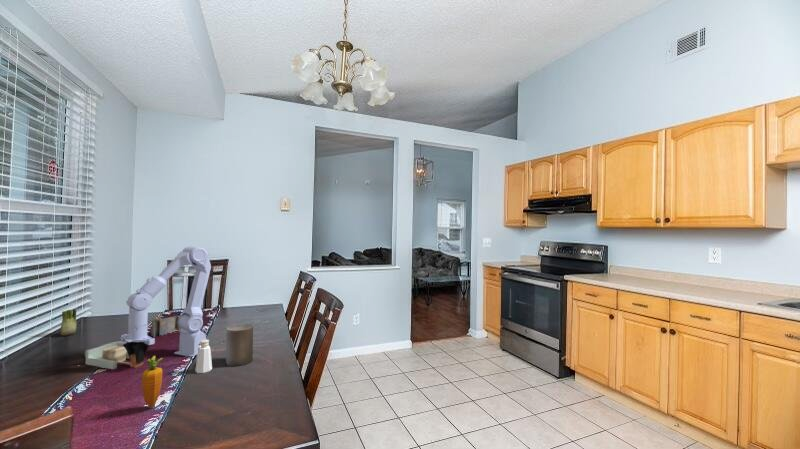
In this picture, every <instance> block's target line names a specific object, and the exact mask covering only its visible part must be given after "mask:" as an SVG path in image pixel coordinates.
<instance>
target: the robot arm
mask: <svg viewBox="0 0 800 449" xmlns="http://www.w3.org/2000/svg"><path fill="white" fill-rule="evenodd" d="M209 255H210V253H209V252H207V250H206V249H205V248H204V247H200V246H199V247H195V246H191V245H190V246H186V247H184V248H183V249H182V251H180V252H178V253H177V255H176V256H175V257H174V259H172V261H171V262H170V263H169V264H168V265H167V266H166V267H164V269H163V270H162V271H161V272H160V273H159V274H158V275H156V276H152V277H151V278H150V277H149V278H147V279H146V280H145V281H146V282H145V283H144V284H143V285H142V286H141V287H140V288H138V289H136V290H135V293H131V294H130V295H129V296H128V298H127V300H126V305H127V306H128V323H127V324H128V325H127V333H125V334H122V335H120V341H121V342H125V344H123V346H124V347H125V349H126V350H127V353H128V355H129V359H128V360H130V356H131V355H132V354H136V362H137V363H140V362H143V363H144V361H145V356H146V354H147V351H148V350H149V348H150V346H151V345H154V344H155V343H156V340H155V339H156V338H155V337H152V336H149V334H148V322H149V321H148V319H149V318H148V317H149V312H148V310H149V308H148V307H150V305H151V304H152V300H153V299H154V298H155V297H156V296H157V295H158V294H159V293H160V292H161V291H162V290H163V289H164V288H165V287H166V286H167V280H169V279H170V278H171V277H173V275H174V274H175V273H177V272H178V271H179V270H180V269H181V268H182V267H184V266H188V265H192V267H193V268H194V269H195V271H194V272H195V273H194V277H193V281H192V284H191V288H190V291H189V292H190V293H189V296H188V299H187V300H188V301H187V305H186V306H185V308H184V309H183V310H182V313H181V315H179V316H180V317H179V319H178V325H179V326H180V331H179V350H178V351H175V352H174V353H173V354H174V355H180V356H184V357H185V356H186V357H195V356H198V349H199V348H200V346H201V345H200V344H201V343H200V341H201V340H205V339H207V335H206V333H205V332H203V331H202V330H201V329H202V327H203V325H204V321H203V316H204V313H203V310H202V305H203V301H204V297H205V294H206V290H207V286H208V281H209V278H210V274H211V269H212V265H211V261H210V256H209Z"/></svg>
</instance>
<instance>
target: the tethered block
mask: <svg viewBox="0 0 800 449" xmlns="http://www.w3.org/2000/svg"><path fill="white" fill-rule="evenodd" d="M102 359H107V360H112V361H117V364H120V365H121V364H122V365H129V367H130V368H134V369H135V368H138V367H141V366H144V361H143V362H140V363H137V362H136V354H132V355H131V356H130V359H129V361H130V362H129V361H128V362H127V360H126V359H127V358H126V349H125V347H121V346H114V347H111V348H108V349H105V350H103V351H102Z"/></svg>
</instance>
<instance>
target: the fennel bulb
mask: <svg viewBox="0 0 800 449" xmlns="http://www.w3.org/2000/svg"><path fill="white" fill-rule="evenodd" d="M61 317H62V320H61V323H60V324H61V325H60V330H59V331H60V335H61V336H63V337H67V336H72V335H74V334H76V331H77V308H73V309H67V310H63V311H62V312H61Z"/></svg>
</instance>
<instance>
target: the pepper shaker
mask: <svg viewBox="0 0 800 449" xmlns="http://www.w3.org/2000/svg"><path fill="white" fill-rule="evenodd" d="M200 343H201V344H200V345H201V346H200V348H199V349H198V354H197V355H196V364H195V371H194V372H195V373H197V374H204V373H205V374H206V373H209V372H211V370H213V363H212V352H211V351H212V350H211V346H210V345H209V343H210V339H207V338H206V339H205V340H201V341H200Z"/></svg>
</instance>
